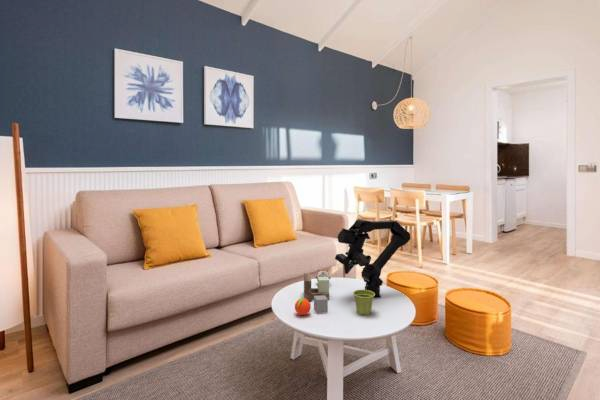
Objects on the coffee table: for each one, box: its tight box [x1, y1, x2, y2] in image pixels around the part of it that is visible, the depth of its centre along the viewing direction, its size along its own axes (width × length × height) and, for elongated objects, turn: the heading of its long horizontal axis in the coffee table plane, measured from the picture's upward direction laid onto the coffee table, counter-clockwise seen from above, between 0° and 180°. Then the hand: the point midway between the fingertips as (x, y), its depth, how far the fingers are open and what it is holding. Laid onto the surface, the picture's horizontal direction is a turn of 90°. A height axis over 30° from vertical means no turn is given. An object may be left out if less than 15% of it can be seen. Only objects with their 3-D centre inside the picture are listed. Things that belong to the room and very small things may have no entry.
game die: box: [314, 269, 332, 282], centre depth 195 cm, size 9×8×10 cm
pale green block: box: [317, 277, 330, 294], centre depth 177 cm, size 5×5×9 cm
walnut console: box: [303, 272, 330, 303], centre depth 177 cm, size 12×12×10 cm
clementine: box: [294, 297, 312, 316], centre depth 156 cm, size 8×7×7 cm
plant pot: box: [352, 289, 375, 316], centre depth 159 cm, size 9×9×9 cm
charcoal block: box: [313, 295, 329, 314], centre depth 160 cm, size 5×5×6 cm
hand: (346, 273), depth 177 cm, fingers closed
